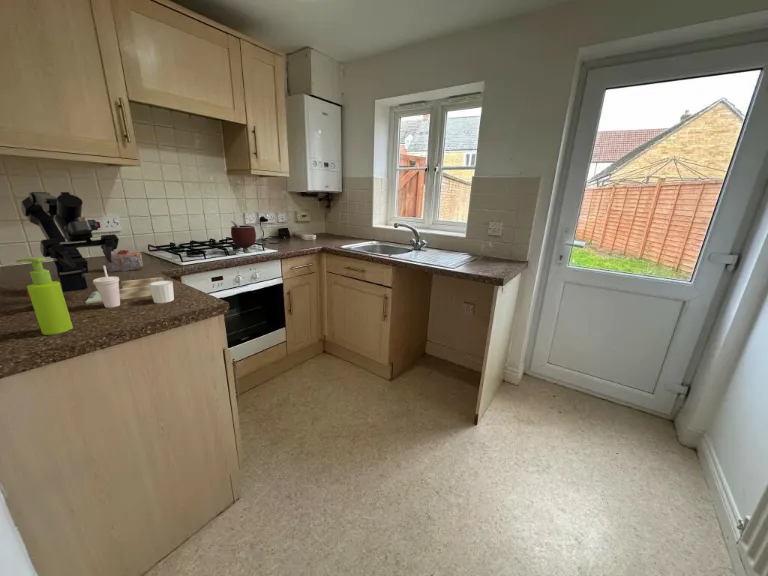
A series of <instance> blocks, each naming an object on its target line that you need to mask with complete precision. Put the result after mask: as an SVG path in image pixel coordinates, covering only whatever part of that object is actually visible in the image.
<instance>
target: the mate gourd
mask: <svg viewBox="0 0 768 576" xmlns="http://www.w3.org/2000/svg"><path fill="white" fill-rule="evenodd" d="M231 223H232V224H233V225H231V227H230V236H231V240H232V243H233V244H234V245H235V246H237V247H239V248H242V251H241V252H244V253H246V252H247V253H251V252H249V251H250V250H249V248H251V247H252V246H254V245H255V243H256V240H257V235H256V234H257V233H256V229H255V225H249V224H248V225H247V224H246V225H244V224H243V225H239V224H238V223H237V222H235V221H233V220H231Z"/></svg>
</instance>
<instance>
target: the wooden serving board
mask: <svg viewBox="0 0 768 576" xmlns="http://www.w3.org/2000/svg"><path fill="white" fill-rule="evenodd" d="M156 281H165V280H164V276H160V277H151V278H142V279H133V280H123V281H122V280H121V281H120V284H121V287H122V288H119V294H120V300H125V299H135V298H144V297H150V296H151V297H152V294H151V291H150V288H149V285H148V284H150V283H152V282H156Z"/></svg>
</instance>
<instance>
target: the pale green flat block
mask: <svg viewBox="0 0 768 576" xmlns="http://www.w3.org/2000/svg"><path fill="white" fill-rule="evenodd" d="M100 302H101V303H103V301H102V299H101V297H100V294H99V292H98V290H96V291H93V292H91V294H89V296H88V298H87V299H86V301H85V304H92V303H93V304H95V303H100Z"/></svg>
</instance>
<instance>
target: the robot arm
mask: <svg viewBox="0 0 768 576" xmlns="http://www.w3.org/2000/svg"><path fill="white" fill-rule="evenodd" d="M20 205H21V206H20V207H21V208H20V209H21V212H22V214H23V216H24V217H26V218H27V220H28V221H29V223H32V224H33V225H36V226H38V227H39V229H40V231H41V232H42V234H43V236H44V237H45V239H41V240H40V242H39V243H40V245H39V246H40V247H39V248H40V249H39V250H40V253H41V255H42V256H43V258H51V259H53V260H52V261H51V263H52V266H51V272H52V274H53V276H54V277H57V278H58V279H59V281H60V286H61V289H62V292H63V293H67V292H74V291H75V292H76V291H85V290H86V289H88V288H89V287H90V284H89V279H88V276H87V275H85V274H89V267H88V266H89V262H88V260H87V259H86V258H85V257H83V256H82V255H83V254H81V252H80V251H79V249H84V248H85V249H86V248H94V247H100V248H101V249H102V253H103V255H104V258H105V257H106V258H107V260H108V261H109V262H110V263H112V257H111V253H113V252H114V251H115V250H116V249H117V248H118V244H119V240H120V239H119V237H118V236H117V235H116V234H112V233H111V234H101V235H100V239H94V240H92V238H93V237H94V236H93V234H92V232H94V231H98V229H99V224H98V222H97V221H96V220H95V219H87V220H80V219H79V218H81V217H82V209H83V200H82V199H81V198H80V197H78V196H77V195H74V194H71V193H70V192H69V191H61V192H60V195H57V197H56V196H55V195H52V194H51V193H50V192H47V191H43V192H42V191H31V192H29V193H28V196H27V197H26V198H24V199H22V201H21V204H20Z"/></svg>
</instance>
